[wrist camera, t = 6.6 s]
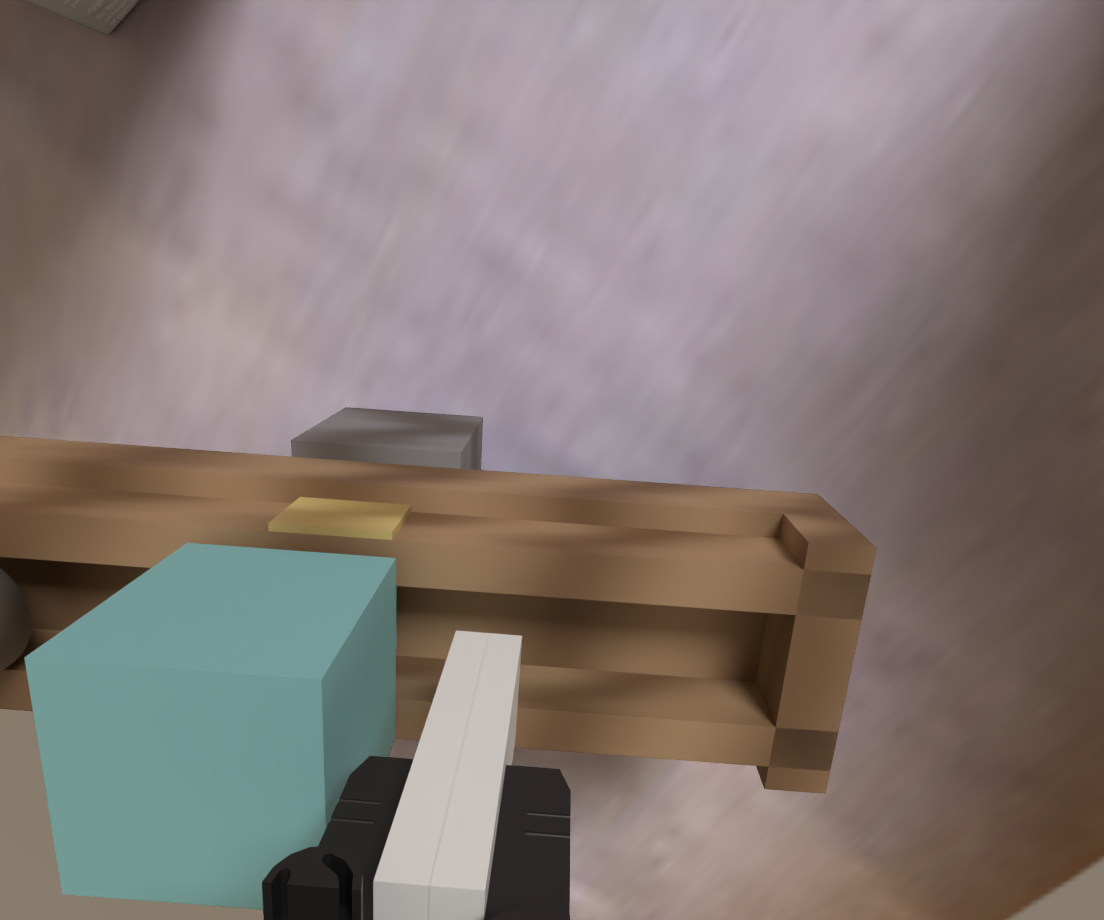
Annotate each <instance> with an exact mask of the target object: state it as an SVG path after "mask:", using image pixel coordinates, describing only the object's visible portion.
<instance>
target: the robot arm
mask: <svg viewBox="0 0 1104 920" xmlns="http://www.w3.org/2000/svg"><path fill="white" fill-rule="evenodd" d="M521 645H522V636H519V635H507V634H494V633H481V632H469V631H456V632H455V635H454V638H453V641H452V644H451V647H450V650H449V653H448V656H447V659H446V662H445V665H444V668H443V672H442V675H441V678H440V681H439V684H438V687H437V690H436V693H435V696H434V699H433V702H432V705H431V708H430V711H429V714H428V717H427V720H426V723H425V726H424V729H423V732H422V735H421V738H420V741H419V744H418V747H417V750H416V753H415V756H414V759H404V758H392V757H380V756H369V757H368V758H367V759H366V760H365V761H364V762H363V763H362V764H361V765H360V766H359V767H357V768H356V769H355V770H354V771H353V772H352V773H351V774H350V776H349V778H348V780H347V782H346V785H345V787H344V789H343V791H342V794H341V796H340V800H339V802H338V803H337V805H336V807H335V809H334V812H333V814H332V816H331V821H330V822H329V823H328V825H327V827H326V829H325V832H324V834H323V836H322V838H321V841H320V843H319V845H318V847H309V848H306V849H303V850H300V851H298V852H295V853H292V854H290V855H289V856H287V857H286V858H285V859H283V860H282V861H280V862H279V863H278V864H276V865H275V866H274V867H273V868H272V869H271V871H270V872H269V873H268V875H267V876H266V877H265V878H264V880H263V881H262V896H263V913H264V920H570V915H569V902H570V789H569V787H568V785H567V783H566V781H565V779H564V777H563V775H562V773H561V771H560V769H550V768H538V767H525V766H513V765H512V761H513V754H514V746H515V737H516V722H517V706H518V691H519V676H520V660H521Z"/></svg>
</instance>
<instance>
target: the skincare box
mask: <svg viewBox="0 0 1104 920" xmlns="http://www.w3.org/2000/svg"><path fill="white" fill-rule="evenodd" d="M23 1H26V2H28V3H31V4H33V5H36V6H38V7H41V8H43V9H45V10H48V11H50V12H53V13H55V14H57V15H59V16H62V17H65V18H67V19H70V20H72V21H74V22H77V23H79V24H81V25H84V26H86V27H89V28H91V29H94V30H96V31H99V32H101V33H102V34H104V35H108V34H109V33H110V32H111V31H112V30H114V28H115V27H116V26H117V25H118V24H119V23H120V22H121V21H122V19H123V18H124V17H125V16H126V15H127V14H128V13H129V12H130V10H131V9H132V8H133V7H134V6H135V5H136V3H137V2H138V1H139V0H23Z"/></svg>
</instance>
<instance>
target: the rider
mask: <svg viewBox="0 0 1104 920" xmlns="http://www.w3.org/2000/svg"><path fill="white" fill-rule="evenodd" d="M396 648H397V586H396V558H389V557H375V556H362V555H348V554H334V553H320V552H307V551H293V550H279V549H265V548H252V547H238V546H224V545H210V544H197V543H186V544H185V545H183V546H182V547H180V548H179V549H177V550H176V551H175V552H173V553H172V554H170V555H169V556H168V557H166V558H165V559H163V560H162V561H160V562H159V563H158V564H156V565H155V566H153V567H152V568H151V569H149V570H148V571H146V572H145V573H143V574H142V575H141V576H139V577H138V578H136V579H135V580H134V581H132V582H131V583H129V584H128V585H126V586H125V587H124V588H122V589H121V590H119V591H118V592H116V593H115V594H114V595H112V596H111V597H109V598H108V599H107V600H105V601H104V602H102V603H101V604H99V605H98V606H97V607H95V608H94V609H92V610H91V611H90V612H88V613H87V614H85V615H84V616H82V617H81V618H80V619H78V620H77V621H75V622H74V623H73V624H71V625H70V626H68V627H67V628H65V629H64V630H63V631H61V632H60V633H58V634H57V635H56V636H54V637H53V638H51V639H50V640H48V641H47V642H46V643H44V644H43V645H41V646H40V647H39V648H37V649H36V650H34V651H33V652H31V653H30V654H29V655H27V656H26V657H24V659H25V665H26V671H27V678H28V684H29V690H30V696H31V703H32V709H33V715H34V721H35V727H36V733H37V740H38V746H39V752H40V758H41V765H42V771H43V777H44V783H45V790H46V796H47V802H48V808H49V815H50V821H51V827H52V833H53V839H54V846H55V852H56V858H57V865H58V870H59V877H60V883H61V890H62V894H69V895H82V896H94V897H109V898H120V899H132V900H145V901H158V902H171V903H184V904H196V905H210V906H222V907H236V908H248V909H260V910H263V896H262V881H263V880H264V878H265V877H266V876H267V875H268V873H269V872H270V871H271V869H272V868H273V867H274V866H275V865H276V864H278V863H279V862H280V861H282V860H283V859H285V858H286V857H287V856H289V855H290V854H292V853H295V852H298V851H300V850H303V849H306V848H309V847H318V845H319V843H320V841H321V838H322V836H323V834H324V832H325V829H326V827H327V825H328V823H329V822H330V821H331V816H332V814H333V812H334V809H335V807H336V805H337V803H338V802H339V800H340V796H341V794H342V791H343V789H344V787H345V785H346V782H347V780H348V778H349V776H350V774H351V773H352V772H353V771H354V770H355V769H356V768H357V767H359V766H360V765H361V764H362V763H363V762H364V761H365V760H366V759H367V758H368V757H369V756H380V757H388V756H389V753H390V751H391V748H392V745H393V743H394V740H395V716H396Z"/></svg>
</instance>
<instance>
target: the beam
mask: <svg viewBox="0 0 1104 920" xmlns="http://www.w3.org/2000/svg"><path fill="white" fill-rule="evenodd" d="M482 425H483V417H474V416H460V415H446V414H432V413H417V412H403V411H389V410H375V409H361V408H347V407H346V408H344V409H342V410H341V411H339V412H337V413H336V414H334V415H332V416H331V417H329V418H327V419H326V420H324V421H322V422H321V423H319V424H317V425H316V426H314V427H313V428H311V429H309V430H308V431H306V432H304V433H303V434H301V435H299V436H298V437H296V438H294V439H293V440H291V448H292V457H288V456H274V455H260V454H246V453H232V452H218V451H204V450H190V449H176V448H162V447H148V446H134V445H120V444H106V443H92V442H78V441H64V440H50V439H36V438H22V437H8V436H0V709H12V710H25V711H33V709H32V703H31V696H30V690H29V684H28V678H27V671H26V665H25V659H24V657H26V656H27V655H29V654H30V653H31V652H33V651H34V650H36V649H37V648H39V647H40V646H41V645H43V644H44V643H46V642H47V641H48V640H50V639H51V638H53V637H54V636H56V635H57V634H58V633H60V632H61V631H63V630H64V629H65V628H67V627H68V626H70V625H71V624H73V623H74V622H75V621H77V620H78V619H80V618H81V617H82V616H84V615H85V614H87V613H88V612H90V611H91V610H92V609H94V608H95V607H97V606H98V605H99V604H101V603H102V602H104V601H105V600H107V599H108V598H109V597H111V596H112V595H114V594H115V593H116V592H118V591H119V590H121V589H122V588H124V587H125V586H126V585H128V584H129V583H131V582H132V581H134V580H135V579H136V578H138V577H139V576H141V575H142V574H143V573H145V572H146V571H148V570H149V569H151V568H152V567H153V566H155V565H156V564H158V563H159V562H160V561H162V560H163V559H165V558H166V557H168V556H169V555H170V554H172V553H173V552H175V551H176V550H177V549H179V548H180V547H182V546H183V545H185V544H186V543H197V544H210V545H224V546H238V547H252V548H265V549H279V550H293V551H307V552H320V553H334V554H348V555H362V556H375V557H389V558H396V586H397V648H396V716H395V739H409V740H420V738H421V735H422V732H423V729H424V726H425V723H426V720H427V717H428V714H429V711H430V708H431V705H432V702H433V699H434V696H435V693H436V690H437V687H438V684H439V681H440V678H441V675H442V672H443V668H444V665H445V662H446V659H447V656H448V653H449V650H450V647H451V644H452V641H453V638H454V635H455V632H456V631H469V632H481V633H494V634H507V635H519V636H522V645H521V660H520V676H519V691H518V706H517V722H516V737H515V746H514V747H515V748H528V749H541V750H554V751H568V752H581V753H594V754H607V755H621V756H634V757H647V758H660V759H674V760H687V761H700V762H713V763H727V764H740V765H753V766H756V767H757V770H758V772H759V775H760V778H761V781H762V783H763V786H764V789H772V790H785V791H798V792H811V793H824V794H825V793H826V788H827V783H828V778H829V774H830V769H831V764H832V759H833V754H834V750H835V745H836V740H837V735H838V730H839V726H840V721H841V716H842V711H843V706H844V702H845V697H846V692H847V687H848V682H849V678H850V673H851V668H852V663H853V658H854V654H855V649H856V644H857V639H858V634H859V630H860V625H861V620H862V615H863V610H864V606H865V601H866V596H867V591H868V586H869V582H870V577H871V572H872V567H873V562H874V558H875V553H876V547H875V546H874V545H873V544H872V543H871V542H870V541H869V540H868V539H867V538H865V537H864V536H863V535H862V534H861V533H860V532H859V531H858V530H857V529H856V528H854V527H853V526H852V525H851V524H850V523H849V522H848V521H847V520H846V519H845V518H843V517H842V516H841V515H840V514H839V513H838V512H837V511H836V510H835V509H834V508H832V507H831V506H830V505H829V504H828V503H827V502H826V501H825V500H824V499H823V498H821V497H820V496H819V495H818V494H807V493H793V492H779V491H765V490H751V489H737V488H723V487H709V486H695V485H681V484H667V483H653V482H639V481H625V480H611V479H597V478H583V477H569V476H555V475H541V474H527V473H513V472H499V471H485V470H481V450H482Z"/></svg>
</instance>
